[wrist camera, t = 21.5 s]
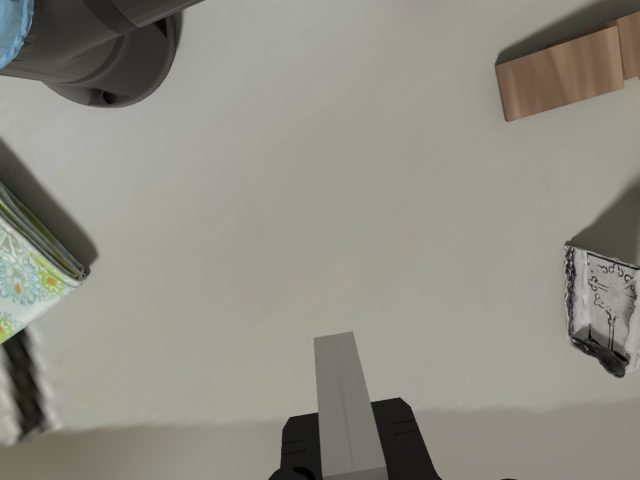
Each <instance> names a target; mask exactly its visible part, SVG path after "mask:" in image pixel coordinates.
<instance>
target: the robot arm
mask: <svg viewBox="0 0 640 480" xmlns="http://www.w3.org/2000/svg"><path fill="white" fill-rule="evenodd" d="M202 1H204V0H0V75H3V76H10V77H17V78H24V79H31V80H38V81H42V82H43V83H44V84H45V85H46V86H48V87H49V88H50V89H52V90H53V91H54V92H56V93H57V94H59V95H61V96H63V97H65V98H67V99H69V100H71V101H73V102H76V103H79V104H82V105H86V106H91V107H101V108H119V107H125V106H129V105H132V104H135V103H137V102H140V101H141V100H143V99H145V98H146V97H148V96H149V95H151V94H152V93H153V92H154V91H155V90H156V89H157V88H158V87H159V86H160V85H161V83H162V82H163V81H164V79H165V78H166V76H167V74H168V72H169V70H170V68H171V65H172V62H173V59H174V54H175V48H176V29H175V22H174V18H173V14H174V13H176V12H179V11H181V10H183V9H186V8H188V7H190V6H193V5H195V4H197V3H200V2H202ZM314 350H315V367H316V383H317V399H318V413H312V414H306V415H300V416H294V417H290V418H289V419H288V421H287V423H286V425H285V426H284V428H283V430H282V447H281V465H280V469H278V470H277V471H275V472H274V473H273V474H272V476H271V477H270V478H269V479H268V480H442V479H441V478H440V477H439V476H438V474H437V473H436V471H435V469H434V467H433V464H432V461H431V459H430V456H429V453H428V451H427V449H426V446H425V443H424V440H423V438H422V435H421V433H420V431H419V427H418V425H417V422H416V421H415V417H414V414H413V412H412V409H411V407H410V406H409V405H408V404H407V403H406V402H405V401H403V400H402V399H401V398H400V397H399V398H393V399H387V400H381V401H376V402H370V399H369V395H368V391H367V387H366V383H365V379H364V375H363V371H362V367H361V363H360V359H359V355H358V351H357V347H356V343H355V339H354V335H353V331H352V332H346V333H340V334H334V335H328V336H323V337H317V338H314ZM502 480H515V479H502Z"/></svg>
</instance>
